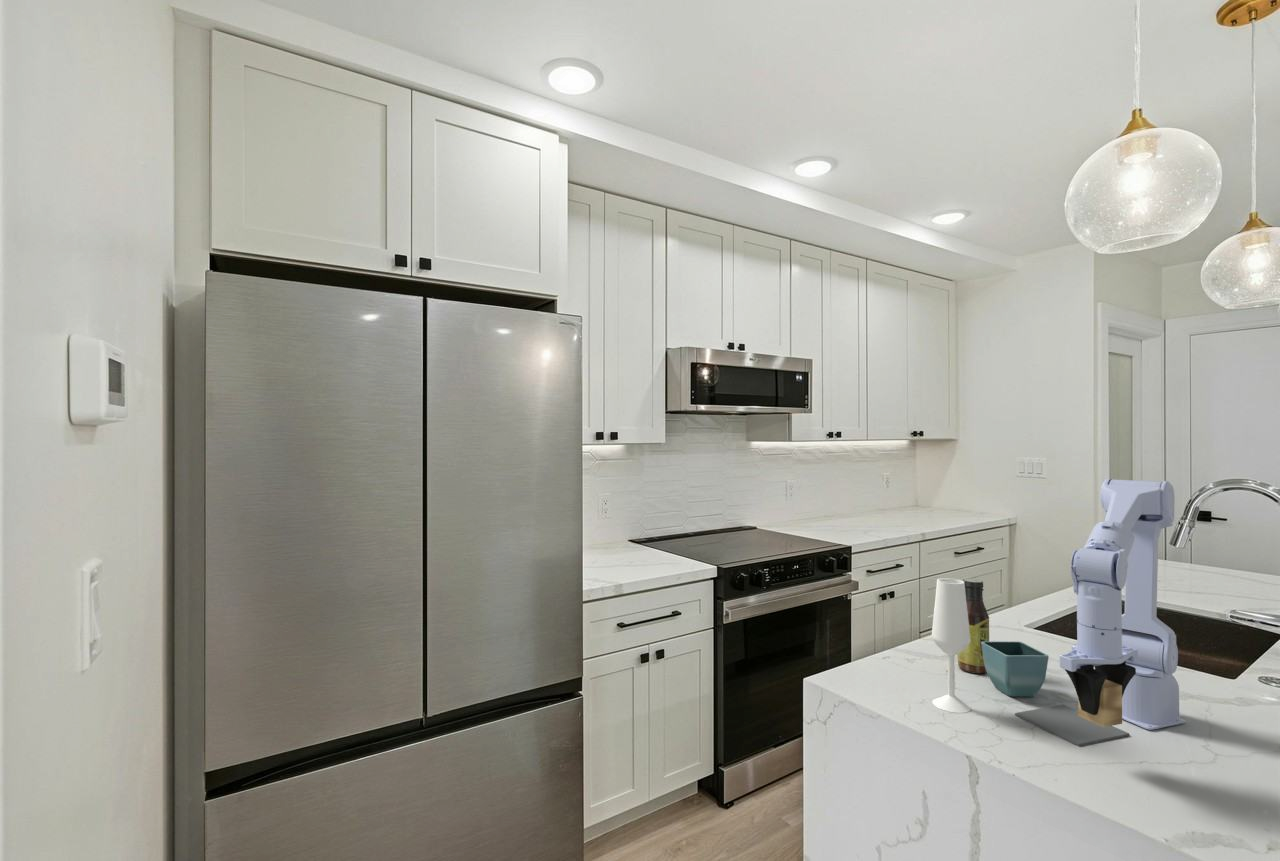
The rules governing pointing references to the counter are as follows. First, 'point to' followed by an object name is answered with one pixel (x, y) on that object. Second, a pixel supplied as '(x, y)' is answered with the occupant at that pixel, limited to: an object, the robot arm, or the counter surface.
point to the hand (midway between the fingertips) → (1099, 710)
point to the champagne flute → (951, 634)
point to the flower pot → (1014, 667)
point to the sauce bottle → (975, 628)
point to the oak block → (1106, 706)
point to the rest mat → (1070, 725)
